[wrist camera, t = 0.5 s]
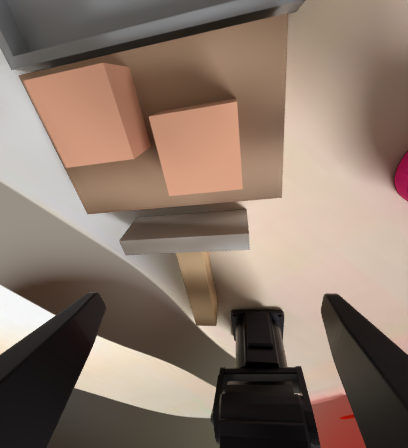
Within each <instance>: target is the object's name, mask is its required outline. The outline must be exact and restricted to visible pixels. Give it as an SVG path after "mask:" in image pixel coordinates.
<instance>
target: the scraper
mask: <svg viewBox="0 0 408 448" xmlns="http://www.w3.org/2000/svg"><path fill="white" fill-rule="evenodd" d="M120 244H121V246H122V248H123V250H124V253H125V255H140V254H162V253H176V256H177V259H178V263H179V266H180V270H181V273H182V277H183V280H184V284H185V287H186V291H187V294H188V298H189V301H190V305H191V308H192V312H193V315H194V319H195V322H196V325H201V326H216V324H217V311H218V302H217V297H216V291H215V286H214V280H213V275H212V270H211V264H210V259H209V253H208V251H231V250H250V247H249V231H248V220H247V209H242V210H230V211H217V212H204V213H191V214H179V215H166V216H153V217H140V218H136V219H135V220H134V222H133V223H132V225H131V226H130V227H129V229H128V230H127V231H126V233H125V234H124V235H123V237H122V238H121V239H120Z"/></svg>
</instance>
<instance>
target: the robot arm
mask: <svg viewBox="0 0 408 448" xmlns="http://www.w3.org/2000/svg"><path fill="white" fill-rule="evenodd" d="M105 310H106V305H105V303H104V301H103V299H102V297H101V295H100V294H99V293H98V292H90V293H87V294H86V295H84V296H83V297H81V298H80V299H79V300H77V301H76V302H74V303H73V304H72V305H70V306H69V307H67V308H66V309H65V310H63V311H62V312H60V313H59V314H57V315H56V316H55V317H53V318H52V319H50V320H49V321H47V322H46V323H45V324H43V325H42V326H40V327H39V328H38V329H36V330H35V331H33V332H32V333H30V334H29V335H28V336H26V337H25V338H23V339H22V340H21V341H19V342H18V343H16V344H15V345H13V346H12V347H11V348H9V349H8V350H6V351H5V352H4V353H2V354H1V355H0V448H47V446H48V444H49V441H50V439H51V437H52V435H53V433H54V430H55V428H56V426H57V423H58V422H59V419H60V417H61V415H62V413H63V411H64V408H65V406H66V404H67V402H68V400H69V397H70V395H71V393H72V391H73V389H74V387H75V384H76V382H77V380H78V378H79V376H80V373H81V371H82V369H83V367H84V365H85V362H86V360H87V358H88V356H89V354H90V351H91V349H92V347H93V344H94V342H95V339H96V336H97V333H98V330H99V327H100V325H101V322H102V319H103V316H104V313H105ZM321 314H322V318H323V322H324V326H325V330H326V334H327V338H328V341H329V345H330V349H331V353H332V356H333V360H334V363H335V365H336V368H337V371H338V374H339V376H340V379H341V381H342V384H343V387H344V389H345V392H346V395H347V397H348V400H349V403H350V405H351V408H352V411H353V413H354V416H355V419H356V421H357V424H358V426H359V429H360V432H361V434H362V437H363V440H364V442H365V445H366V448H408V355H407V354H406V353H405V352H404V351H403V350H402V349H400V348H399V347H398V346H397V345H396V344H395V343H394V342H392V341H391V340H390V339H389V338H388V337H387V336H385V335H384V334H383V333H382V332H381V331H380V330H379V329H377V328H376V327H375V326H374V325H373V324H372V323H371V322H369V321H368V320H367V319H366V318H365V317H364V316H363V315H361V314H360V313H359V312H358V311H357V310H356V309H354V308H353V307H352V306H351V305H350V304H349V303H348V302H346V301H345V300H344V299H343V298H342V297H341V296H340V295H338V294H325V295H324V297H323V302H322V307H321ZM231 320H232V327H233V334H234V340H235V341H236V368H225V367H221V368H220V374H219V375H218V381H217V387H216V393H215V399H214V406H213V410H212V413H211V422H212V424H213V426H214V431H215V438H216V442H217V444H218V445H220V448H320V442H319V437H318V432H317V428H316V423H315V419H314V414H313V410H312V406H311V403H310V399H309V395H308V391H307V387H306V383H305V380H304V376H303V372H302V368H301V366H296V367H287V362H286V356H285V351H284V346H283V327H284V313H283V311H281V310H233V311H231ZM294 393H300V395H298V394H294Z"/></svg>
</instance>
